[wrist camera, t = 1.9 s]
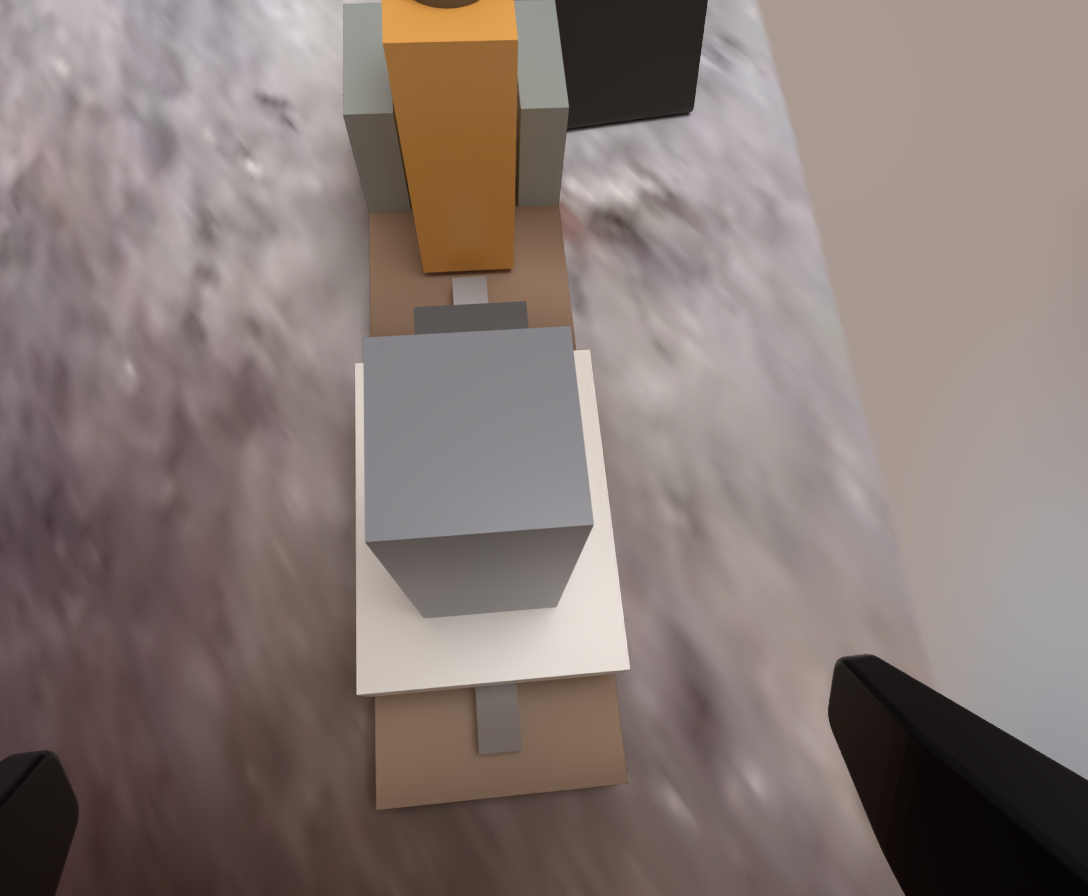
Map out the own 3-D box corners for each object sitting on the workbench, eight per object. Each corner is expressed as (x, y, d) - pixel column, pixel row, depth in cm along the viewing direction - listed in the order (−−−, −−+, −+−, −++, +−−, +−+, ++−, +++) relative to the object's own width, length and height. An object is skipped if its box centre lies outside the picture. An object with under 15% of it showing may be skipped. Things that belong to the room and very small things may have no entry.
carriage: (620, 673, 18) (723, 630, 9) (368, 697, 17) (240, 672, 9) (579, 343, 21) (631, 87, 12) (365, 355, 20) (268, 98, 12)
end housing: (558, 204, 24) (569, 107, 20) (369, 212, 23) (343, 114, 19) (547, 108, 25) (554, -1, 21) (367, 113, 25) (343, 3, 21)
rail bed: (619, 778, 19) (632, 785, 17) (385, 803, 19) (371, 813, 17) (545, 140, 26) (548, 91, 24) (375, 146, 26) (363, 96, 24)
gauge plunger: (513, 268, 22) (518, 3, 14) (423, 272, 22) (376, 6, 14) (503, 162, 24) (503, -135, 16) (419, 165, 24) (373, -134, 15)
